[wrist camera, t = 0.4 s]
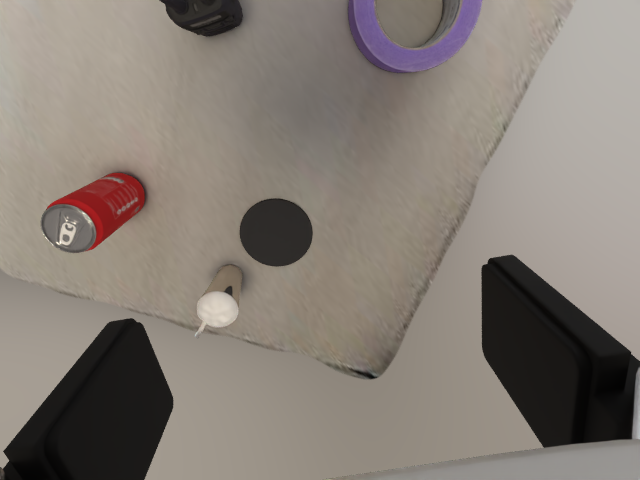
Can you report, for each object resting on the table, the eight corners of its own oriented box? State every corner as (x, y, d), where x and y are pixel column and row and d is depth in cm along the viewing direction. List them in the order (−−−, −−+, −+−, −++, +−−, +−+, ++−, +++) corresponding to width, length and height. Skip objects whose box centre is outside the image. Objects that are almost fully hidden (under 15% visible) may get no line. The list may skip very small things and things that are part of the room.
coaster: (225, 232, 48) (224, 233, 47) (275, 183, 46) (275, 184, 45) (277, 277, 50) (276, 279, 50) (327, 233, 48) (327, 234, 48)
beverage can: (154, 183, 45) (105, 217, 34) (140, 220, 47) (89, 264, 36) (110, 162, 44) (45, 191, 33) (97, 201, 45) (31, 240, 34)
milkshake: (201, 280, 50) (178, 325, 41) (227, 253, 49) (210, 293, 40) (229, 300, 51) (212, 348, 42) (255, 274, 50) (244, 319, 41)
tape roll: (324, -3, 38) (327, -14, 34) (422, -93, 36) (440, -118, 31) (390, 96, 42) (400, 98, 38) (483, 21, 40) (506, 14, 35)
